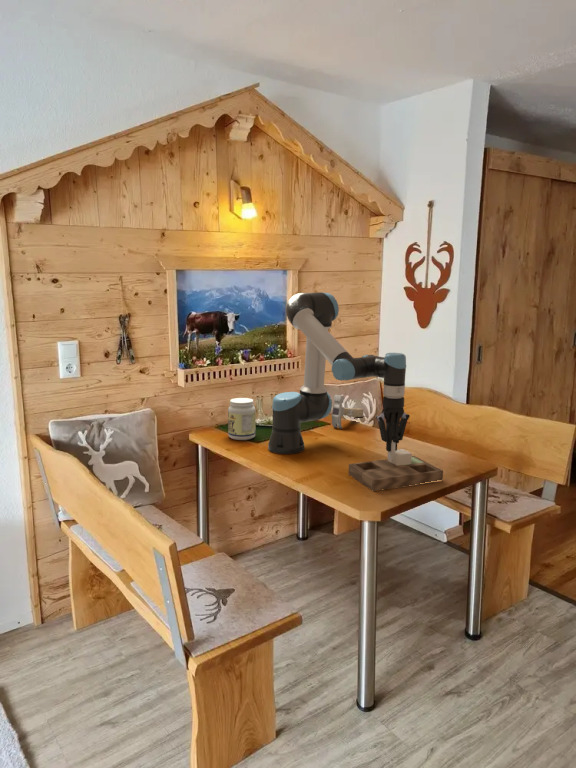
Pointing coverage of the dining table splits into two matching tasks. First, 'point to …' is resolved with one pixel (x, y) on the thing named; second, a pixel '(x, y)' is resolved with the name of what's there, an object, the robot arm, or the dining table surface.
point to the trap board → (394, 473)
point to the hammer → (343, 411)
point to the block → (402, 457)
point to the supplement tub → (241, 419)
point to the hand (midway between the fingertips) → (391, 459)
